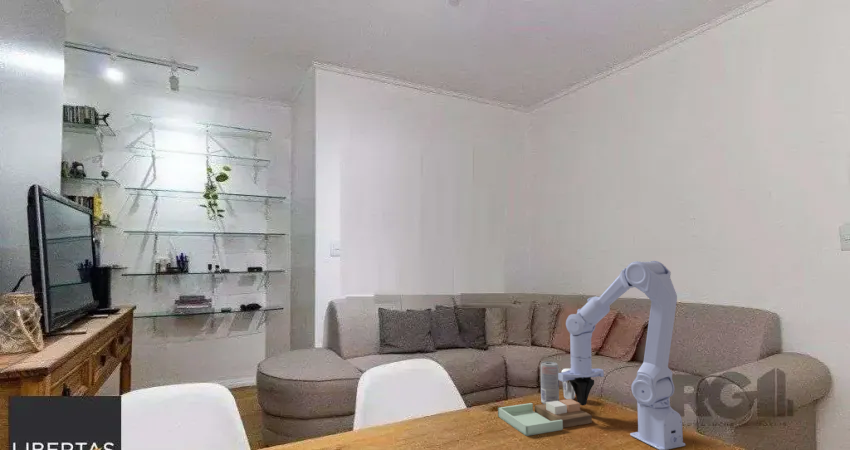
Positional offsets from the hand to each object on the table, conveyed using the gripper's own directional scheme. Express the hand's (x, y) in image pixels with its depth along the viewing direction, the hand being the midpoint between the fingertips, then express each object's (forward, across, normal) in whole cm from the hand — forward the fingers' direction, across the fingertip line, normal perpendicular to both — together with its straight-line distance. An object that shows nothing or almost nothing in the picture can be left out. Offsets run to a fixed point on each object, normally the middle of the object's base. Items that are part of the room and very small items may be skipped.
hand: (581, 404), depth 125 cm
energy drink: (+3, +3, -11) cm, 12 cm away
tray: (+3, +18, 0) cm, 18 cm away
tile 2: (+1, +4, 0) cm, 4 cm away
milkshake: (+3, -6, -13) cm, 15 cm away
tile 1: (+1, +9, 0) cm, 9 cm away
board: (+3, +7, 0) cm, 7 cm away
